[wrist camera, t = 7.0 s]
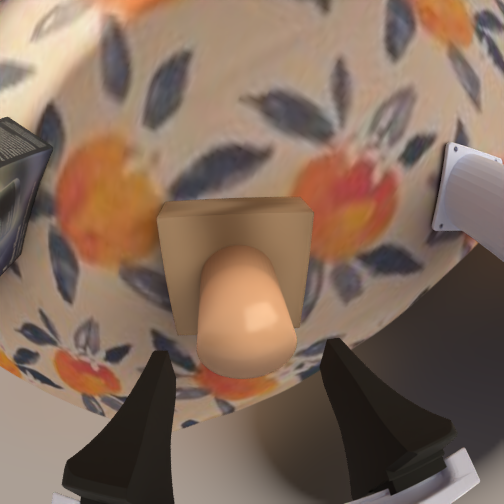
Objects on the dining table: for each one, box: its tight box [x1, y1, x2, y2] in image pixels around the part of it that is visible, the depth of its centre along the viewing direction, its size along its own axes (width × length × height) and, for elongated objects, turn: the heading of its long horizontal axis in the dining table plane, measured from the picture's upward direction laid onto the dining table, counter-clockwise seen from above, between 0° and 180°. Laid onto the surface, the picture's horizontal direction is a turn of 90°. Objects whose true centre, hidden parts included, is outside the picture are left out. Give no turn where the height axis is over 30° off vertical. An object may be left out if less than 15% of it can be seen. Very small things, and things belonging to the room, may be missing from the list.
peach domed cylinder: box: [197, 245, 297, 379], centre depth 15 cm, size 5×5×6 cm
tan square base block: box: [157, 197, 314, 335], centre depth 19 cm, size 9×9×3 cm
